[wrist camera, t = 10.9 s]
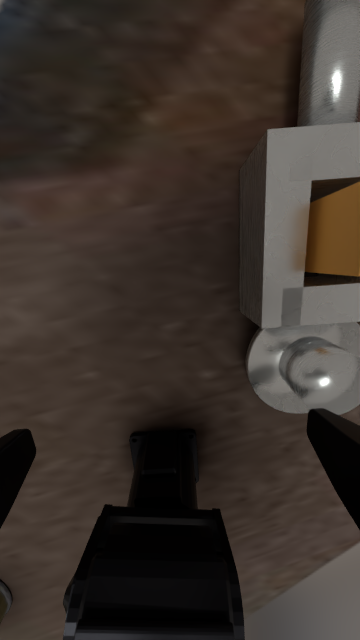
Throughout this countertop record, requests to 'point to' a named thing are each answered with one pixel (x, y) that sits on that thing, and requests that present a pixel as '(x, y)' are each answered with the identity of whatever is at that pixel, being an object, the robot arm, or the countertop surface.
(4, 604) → the canister
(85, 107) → the countertop surface
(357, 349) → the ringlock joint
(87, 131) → the countertop surface
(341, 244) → the wedge
